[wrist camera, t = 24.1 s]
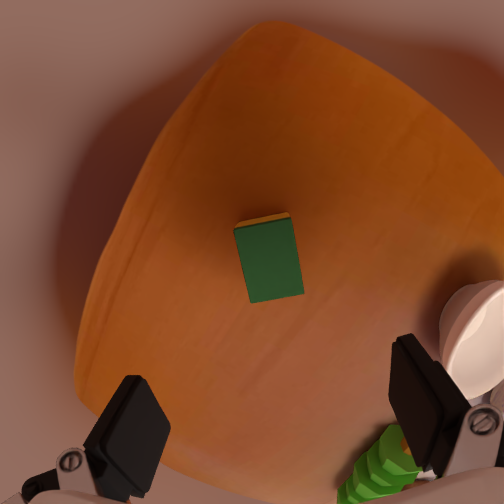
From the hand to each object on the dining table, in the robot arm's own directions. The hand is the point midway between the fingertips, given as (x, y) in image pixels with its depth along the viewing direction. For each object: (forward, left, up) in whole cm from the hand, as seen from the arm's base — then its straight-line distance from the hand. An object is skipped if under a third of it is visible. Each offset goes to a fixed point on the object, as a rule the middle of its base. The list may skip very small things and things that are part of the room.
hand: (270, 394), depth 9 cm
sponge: (0, 0, -20) cm, 20 cm away
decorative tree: (+40, +11, -20) cm, 46 cm away
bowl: (+14, +24, -20) cm, 35 cm away
